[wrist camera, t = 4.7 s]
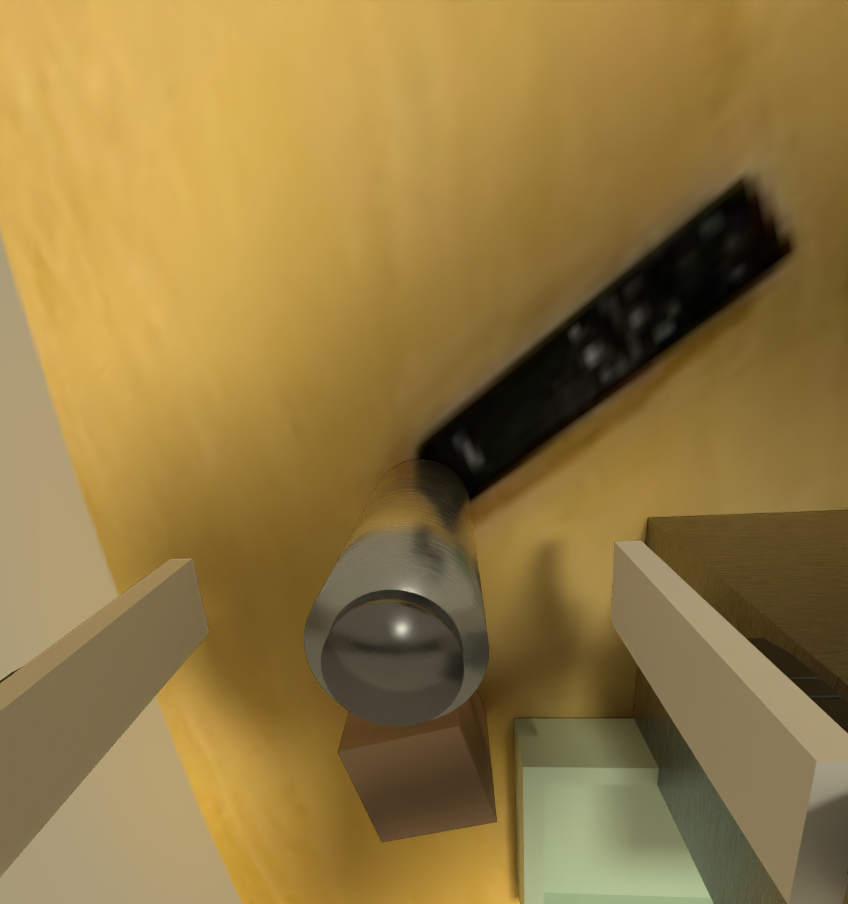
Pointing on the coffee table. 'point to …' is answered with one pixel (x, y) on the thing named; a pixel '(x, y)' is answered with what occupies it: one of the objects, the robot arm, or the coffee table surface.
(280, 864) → the coffee table surface
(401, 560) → the cartridge
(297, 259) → the coffee table surface
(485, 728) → the walnut block
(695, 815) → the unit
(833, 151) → the coffee table surface
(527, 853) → the tray
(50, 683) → the robot arm
